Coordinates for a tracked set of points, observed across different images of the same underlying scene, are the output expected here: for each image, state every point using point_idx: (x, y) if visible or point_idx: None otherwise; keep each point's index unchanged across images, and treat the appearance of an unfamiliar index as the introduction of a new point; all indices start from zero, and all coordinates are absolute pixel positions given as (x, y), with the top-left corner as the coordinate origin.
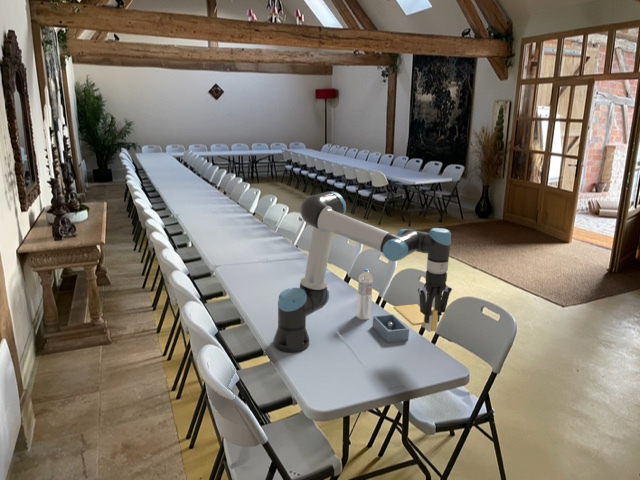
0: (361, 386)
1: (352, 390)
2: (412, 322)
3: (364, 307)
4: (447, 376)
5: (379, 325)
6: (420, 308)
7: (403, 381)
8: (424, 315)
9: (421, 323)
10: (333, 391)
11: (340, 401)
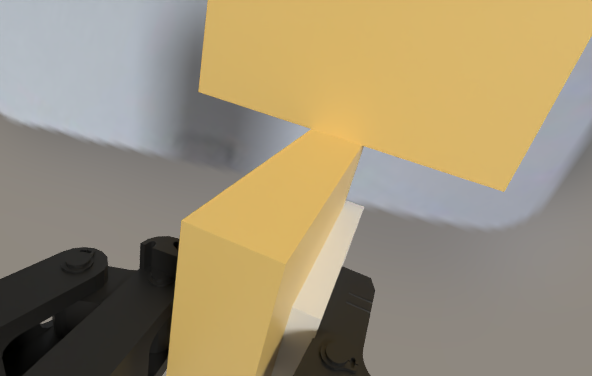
0: (112, 76)
1: (83, 80)
2: (206, 67)
3: None
4: (425, 201)
5: None
6: (4, 289)
7: (247, 129)
8: (279, 156)
9: (291, 120)
10: (35, 54)
11: (43, 108)
